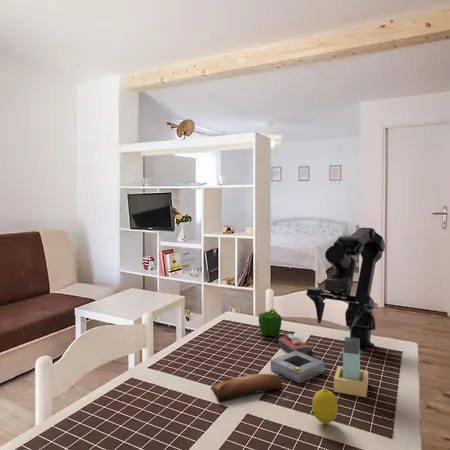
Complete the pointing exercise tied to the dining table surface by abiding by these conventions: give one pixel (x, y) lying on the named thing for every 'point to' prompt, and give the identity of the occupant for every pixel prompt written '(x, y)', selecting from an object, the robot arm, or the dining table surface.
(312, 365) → the port block
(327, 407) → the lemon
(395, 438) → the dining table surface
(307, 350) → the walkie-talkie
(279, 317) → the bell pepper
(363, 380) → the yellow square socket
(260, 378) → the sunglasses case
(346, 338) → the plug
